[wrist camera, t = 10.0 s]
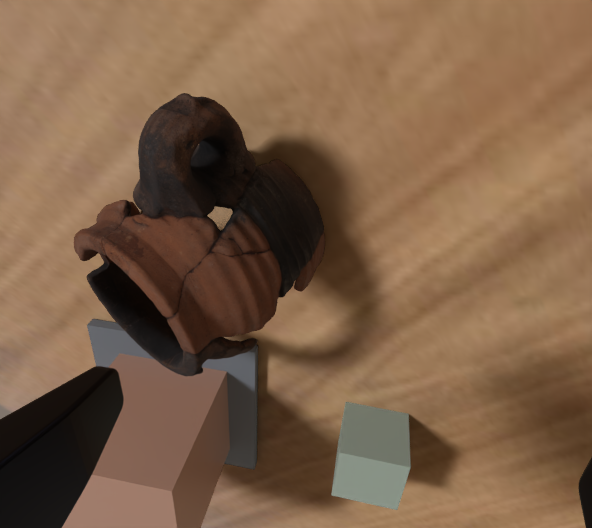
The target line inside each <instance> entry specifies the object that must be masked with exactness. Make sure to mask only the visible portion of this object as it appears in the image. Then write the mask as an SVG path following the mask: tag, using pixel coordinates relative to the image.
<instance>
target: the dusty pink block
mask: <svg viewBox="0 0 592 528" xmlns="http://www.w3.org/2000/svg"><path fill="white" fill-rule="evenodd" d="M109 368H114V369H116V370H117V371H118V373H119V377H120V382H121V387H122V391H123V396H124V402H123V407H122V410H121V412H120V414H119V417H118V419H117V421H116V423H115V425H114V428H113V430H112V432H111V434H110V436H109V439H108V441H107V443H106V445H105V447H104V450H103V452H102V454H101V456H100V458H99V461H98V463H97V465H96V467H95V469H94V471H93V473H92V475H91V477H90V480H89V481H88V483H87V485H86V487H85V489H84V490H83V492H82V494H81V496H80V497H79V499H78V501H77V503H76V504H75V506H74V508H73V509H72V511H71V513H70V515H69V516H68V518H67V520H66V522H65V523H64V525H63V527H62V528H201V525H202V522H203V519H204V517H205V514H206V511H207V509H208V506H209V503H210V501H211V498H212V495H213V493H214V490H215V487H216V484H217V482H218V479H219V476H220V474H221V471H222V468H223V466H224V463H225V460H226V457H227V455H228V452H229V449H230V438H229V413H228V388H227V371H221V370H215V369H209V368H203V367H202V368H203V373H201V374H197V375H194V376H183V375H180V374H177V373H175V372H173V371H171V370H169V369H167V368H166V367H164V366H163V365H161V364H160V363H159V362H158V361H156V360H155V359H150V358H144V357H138V356H132V355H126V354H120V353H119V355H118V356H117V357H116V358H115V360H114V361H113V362H112V364H111V365H110V366H109Z"/></svg>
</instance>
